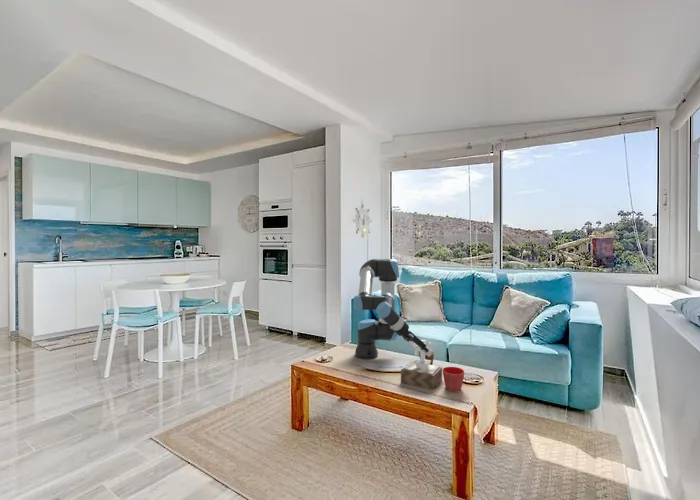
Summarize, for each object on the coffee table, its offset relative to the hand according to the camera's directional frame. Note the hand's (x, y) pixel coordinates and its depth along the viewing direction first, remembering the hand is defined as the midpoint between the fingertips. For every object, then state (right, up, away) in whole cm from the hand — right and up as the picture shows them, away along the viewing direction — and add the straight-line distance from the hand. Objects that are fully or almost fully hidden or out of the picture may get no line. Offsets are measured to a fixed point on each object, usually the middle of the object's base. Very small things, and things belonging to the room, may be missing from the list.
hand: (423, 351), depth 201 cm
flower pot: (+13, -17, -10) cm, 24 cm away
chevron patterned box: (-1, -16, 0) cm, 16 cm away
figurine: (-1, -9, -1) cm, 9 cm away
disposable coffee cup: (+5, -16, +18) cm, 25 cm away
